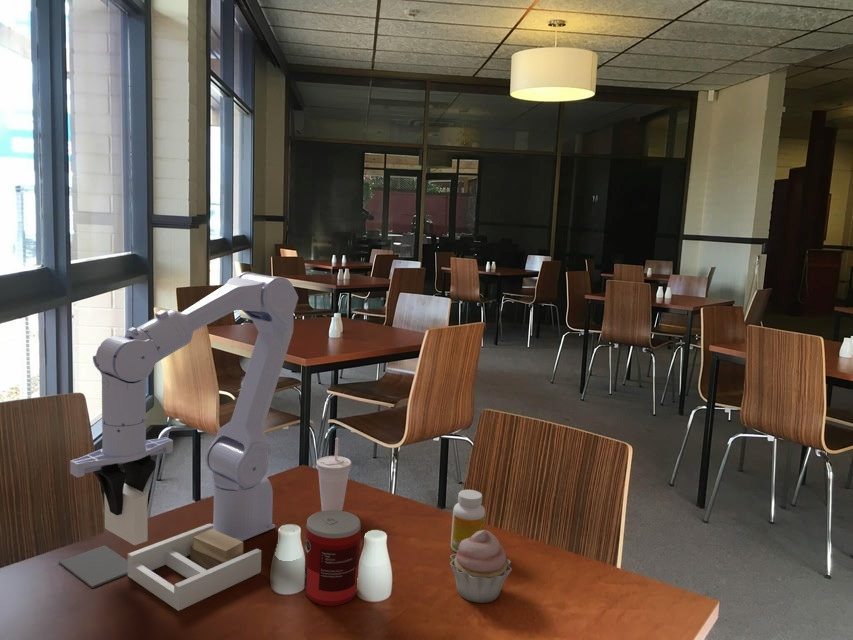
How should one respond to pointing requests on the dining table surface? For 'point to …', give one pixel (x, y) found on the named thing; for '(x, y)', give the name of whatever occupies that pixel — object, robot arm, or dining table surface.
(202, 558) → the offcut low
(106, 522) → the cream rectangular block
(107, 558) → the mat
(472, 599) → the cupcake
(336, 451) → the smoothie
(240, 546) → the offcut top
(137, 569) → the rack
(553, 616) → the dining table surface
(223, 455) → the robot arm
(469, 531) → the supplement bottle
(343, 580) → the canned food
